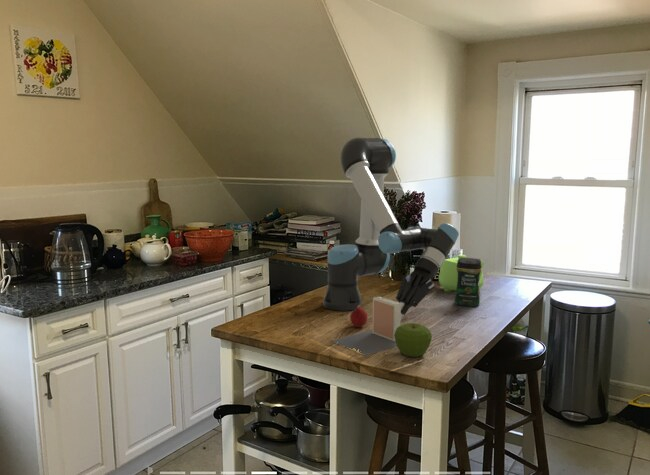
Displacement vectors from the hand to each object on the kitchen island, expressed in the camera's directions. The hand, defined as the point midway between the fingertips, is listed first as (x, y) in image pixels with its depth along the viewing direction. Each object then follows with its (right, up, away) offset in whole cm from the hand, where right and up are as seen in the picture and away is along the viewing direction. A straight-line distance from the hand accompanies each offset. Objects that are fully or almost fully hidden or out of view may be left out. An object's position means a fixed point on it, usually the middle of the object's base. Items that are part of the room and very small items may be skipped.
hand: (394, 321), depth 176 cm
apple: (+3, -8, -16) cm, 18 cm away
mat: (-7, -6, -4) cm, 10 cm away
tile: (-3, -5, -1) cm, 6 cm away
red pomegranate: (-11, -4, +9) cm, 15 cm away
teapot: (+37, +4, +61) cm, 72 cm away
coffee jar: (+34, +1, +39) cm, 51 cm away
